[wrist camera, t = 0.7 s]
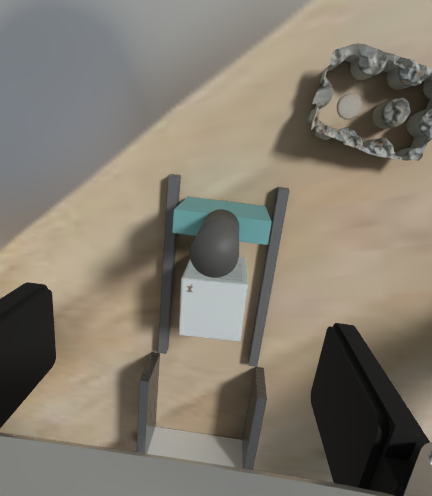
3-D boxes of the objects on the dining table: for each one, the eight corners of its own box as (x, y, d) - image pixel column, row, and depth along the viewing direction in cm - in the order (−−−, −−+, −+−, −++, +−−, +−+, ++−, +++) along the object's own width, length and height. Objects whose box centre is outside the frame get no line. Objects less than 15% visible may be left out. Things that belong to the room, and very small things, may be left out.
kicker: (266, 201, 32) (284, 240, 18) (261, 229, 33) (275, 285, 19) (188, 191, 32) (150, 222, 19) (186, 220, 33) (148, 269, 20)
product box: (188, 300, 36) (176, 335, 29) (192, 250, 34) (179, 276, 28) (241, 305, 36) (241, 343, 29) (247, 256, 34) (248, 284, 27)
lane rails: (287, 188, 32) (289, 189, 30) (256, 360, 38) (257, 366, 37) (171, 174, 32) (168, 175, 31) (160, 346, 39) (157, 352, 37)
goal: (263, 368, 38) (269, 422, 31) (248, 446, 42) (250, 511, 35) (152, 352, 39) (130, 401, 31) (147, 431, 43) (127, 491, 35)
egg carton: (297, 133, 30) (305, 131, 26) (329, 47, 28) (343, 31, 24) (401, 167, 30) (424, 170, 26) (441, 85, 28) (473, 74, 24)
